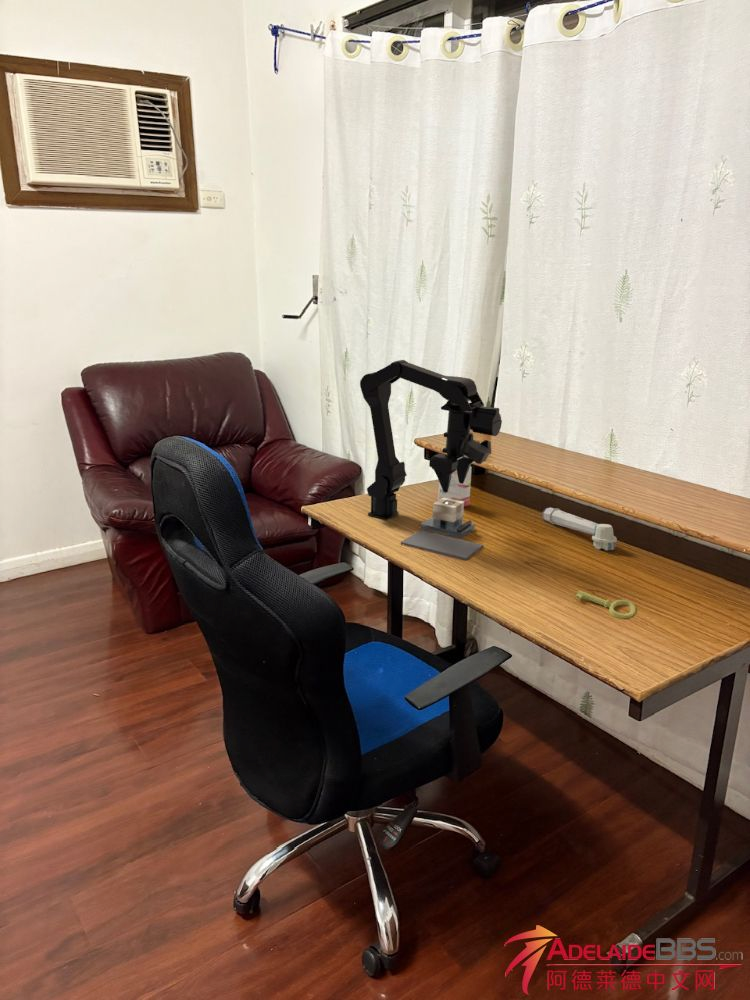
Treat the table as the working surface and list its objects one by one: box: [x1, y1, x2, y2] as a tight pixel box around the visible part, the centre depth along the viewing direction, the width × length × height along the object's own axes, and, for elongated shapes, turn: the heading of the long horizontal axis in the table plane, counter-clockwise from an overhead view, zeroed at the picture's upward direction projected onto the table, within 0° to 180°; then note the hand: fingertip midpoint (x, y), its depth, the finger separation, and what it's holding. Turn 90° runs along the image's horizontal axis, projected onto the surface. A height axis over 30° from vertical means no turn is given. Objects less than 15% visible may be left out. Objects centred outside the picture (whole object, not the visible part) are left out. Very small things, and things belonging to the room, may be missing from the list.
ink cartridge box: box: [437, 466, 473, 507], centre depth 211 cm, size 9×5×15 cm, turn 43°
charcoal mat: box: [400, 529, 484, 561], centre depth 182 cm, size 18×10×1 cm, turn 58°
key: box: [574, 590, 637, 619], centre depth 151 cm, size 7×12×2 cm, turn 73°
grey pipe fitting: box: [541, 507, 618, 551], centre depth 190 cm, size 5×7×25 cm
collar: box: [432, 498, 465, 522], centre depth 191 cm, size 6×6×4 cm
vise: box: [419, 501, 476, 540], centre depth 192 cm, size 12×8×8 cm, turn 58°
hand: (453, 487), depth 189 cm, fingers open, 9 cm apart
